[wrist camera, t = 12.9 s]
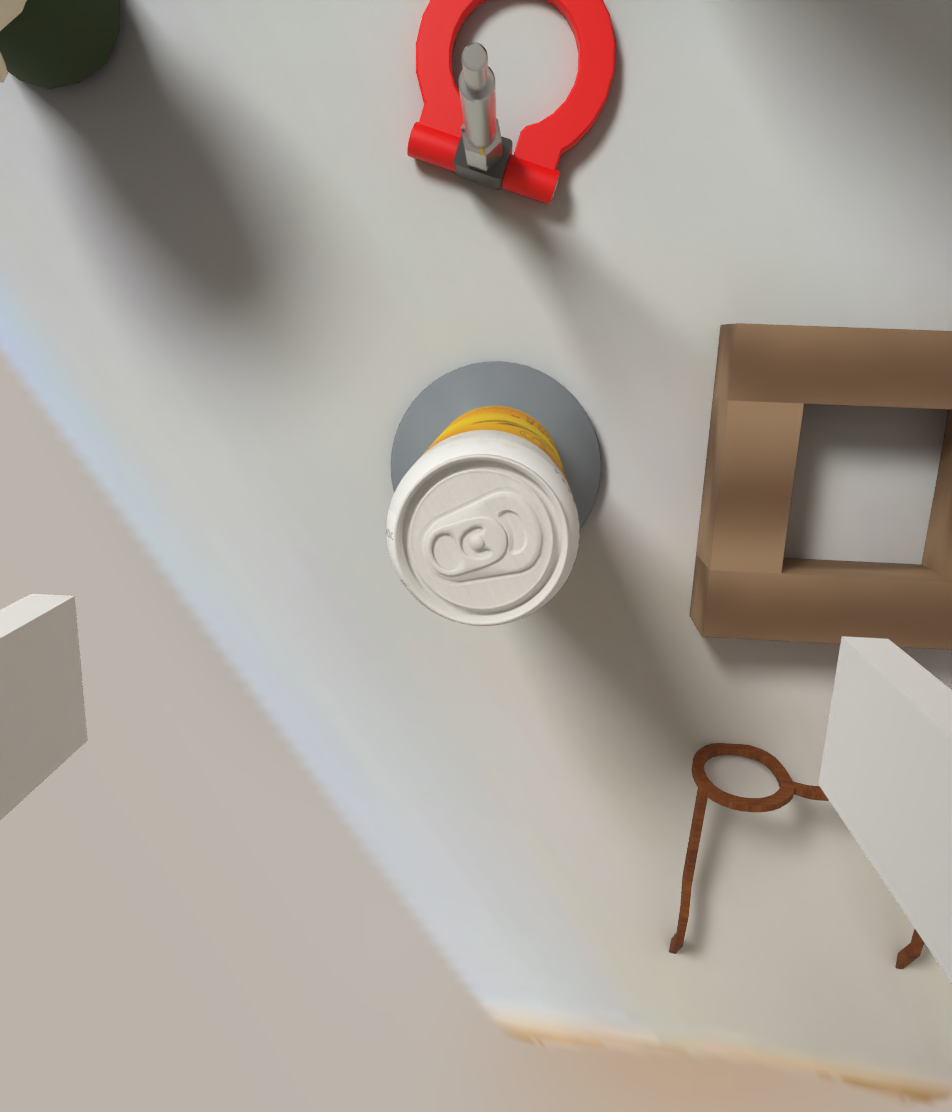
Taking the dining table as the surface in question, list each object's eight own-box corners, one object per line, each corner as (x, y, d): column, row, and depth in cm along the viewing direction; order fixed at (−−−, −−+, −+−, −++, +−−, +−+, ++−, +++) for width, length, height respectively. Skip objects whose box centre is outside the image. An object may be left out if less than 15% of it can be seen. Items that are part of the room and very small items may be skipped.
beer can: (575, 509, 40) (606, 606, 25) (455, 546, 40) (418, 660, 26) (538, 387, 38) (548, 413, 24) (414, 427, 39) (352, 477, 25)
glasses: (939, 749, 43) (992, 801, 38) (899, 962, 46) (944, 1034, 41) (683, 736, 44) (704, 786, 39) (662, 947, 47) (679, 1017, 42)
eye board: (720, 324, 38) (737, 323, 35) (1035, 336, 37) (1079, 335, 34) (689, 615, 41) (702, 636, 38) (976, 630, 41) (1011, 652, 38)
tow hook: (452, -71, 35) (388, 155, 37) (424, -327, 22) (329, 37, 24) (640, -4, 35) (567, 216, 37) (717, -219, 23) (600, 132, 24)
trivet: (393, 357, 39) (391, 357, 38) (607, 365, 38) (608, 365, 38) (391, 562, 41) (389, 565, 41) (591, 572, 41) (592, 575, 40)
